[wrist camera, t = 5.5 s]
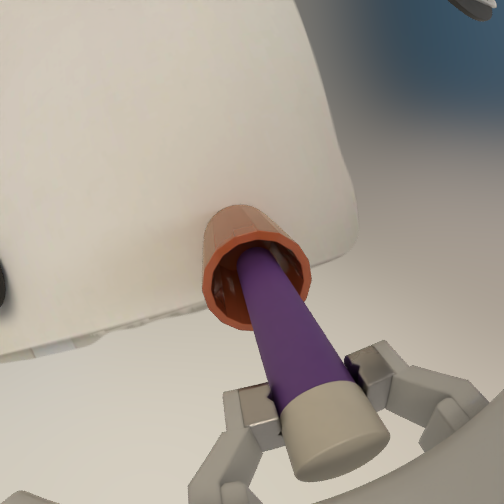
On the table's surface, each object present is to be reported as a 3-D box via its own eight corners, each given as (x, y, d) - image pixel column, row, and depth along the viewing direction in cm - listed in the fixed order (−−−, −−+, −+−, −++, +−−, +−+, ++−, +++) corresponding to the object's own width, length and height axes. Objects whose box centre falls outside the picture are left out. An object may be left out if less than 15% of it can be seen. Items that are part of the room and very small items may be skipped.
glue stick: (271, 241, 18) (398, 416, 5) (279, 277, 19) (383, 457, 6) (231, 252, 18) (289, 460, 5) (241, 288, 19) (300, 489, 5)
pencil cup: (266, 197, 23) (302, 218, 14) (280, 263, 25) (316, 314, 17) (195, 215, 22) (188, 248, 14) (214, 281, 24) (220, 341, 16)
